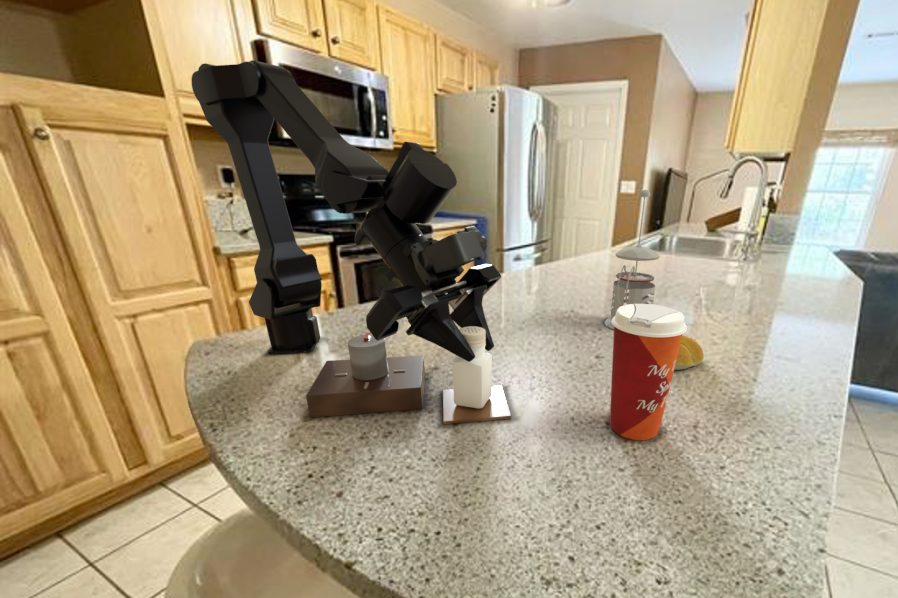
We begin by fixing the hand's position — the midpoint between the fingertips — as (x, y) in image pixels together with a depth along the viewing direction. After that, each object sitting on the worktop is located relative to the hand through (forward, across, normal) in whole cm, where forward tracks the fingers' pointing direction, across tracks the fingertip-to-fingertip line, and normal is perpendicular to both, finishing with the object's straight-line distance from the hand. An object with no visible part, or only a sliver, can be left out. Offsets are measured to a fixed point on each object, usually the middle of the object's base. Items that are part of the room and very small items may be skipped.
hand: (482, 354), depth 50 cm
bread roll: (+17, +28, -7) cm, 33 cm away
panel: (-5, -5, +15) cm, 17 cm away
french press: (+9, +41, +1) cm, 42 cm away
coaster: (+4, 0, +6) cm, 7 cm away
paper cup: (+18, +6, -7) cm, 20 cm away
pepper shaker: (+4, 0, +6) cm, 7 cm away
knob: (-7, -5, +13) cm, 16 cm away
